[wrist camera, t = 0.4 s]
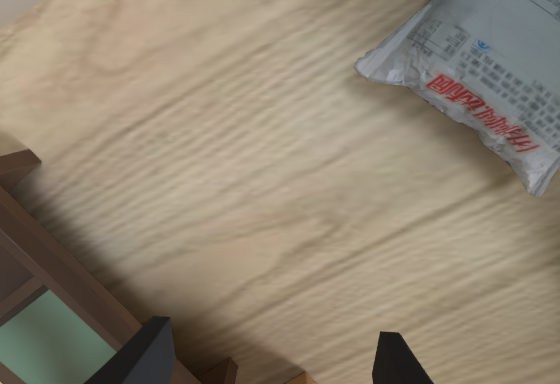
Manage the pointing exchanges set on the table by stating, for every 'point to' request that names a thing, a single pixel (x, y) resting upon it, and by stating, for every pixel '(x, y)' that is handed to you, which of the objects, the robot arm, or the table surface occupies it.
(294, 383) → the parcel
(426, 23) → the packaged food
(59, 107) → the table surface
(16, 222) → the rack
